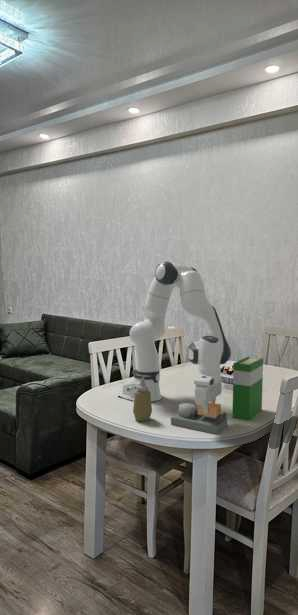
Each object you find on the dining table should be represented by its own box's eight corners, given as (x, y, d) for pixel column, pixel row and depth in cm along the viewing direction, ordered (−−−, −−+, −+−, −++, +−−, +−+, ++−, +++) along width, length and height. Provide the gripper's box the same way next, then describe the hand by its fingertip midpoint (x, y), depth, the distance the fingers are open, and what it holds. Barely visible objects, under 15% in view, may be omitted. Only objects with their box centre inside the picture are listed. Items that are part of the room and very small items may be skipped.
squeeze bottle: (151, 416, 175) (151, 375, 174) (152, 422, 167) (152, 380, 166) (133, 416, 175) (133, 375, 174) (132, 423, 167) (133, 380, 166)
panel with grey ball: (170, 424, 166) (171, 407, 165) (183, 416, 176) (183, 400, 175) (216, 434, 155) (217, 416, 155) (227, 424, 166) (227, 408, 165)
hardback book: (246, 407, 189) (247, 356, 187) (261, 409, 185) (263, 358, 183) (232, 417, 174) (233, 363, 173) (249, 421, 170) (250, 365, 169)
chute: (197, 414, 163) (197, 404, 163) (202, 410, 167) (202, 401, 167) (216, 417, 159) (216, 407, 159) (220, 414, 164) (220, 404, 163)
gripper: (211, 370, 173) (211, 402, 174) (192, 381, 155) (191, 416, 156) (225, 372, 170) (225, 404, 171) (207, 383, 152) (206, 419, 153)
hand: (208, 410), depth 163 cm, fingers closed on chute, 5 cm apart
